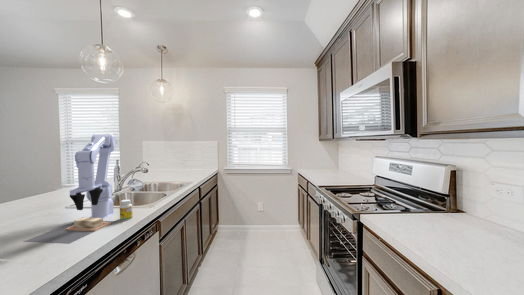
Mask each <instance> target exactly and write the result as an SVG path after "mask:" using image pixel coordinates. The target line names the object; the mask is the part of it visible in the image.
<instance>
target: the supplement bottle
mask: <svg viewBox="0 0 524 295" xmlns="http://www.w3.org/2000/svg"><path fill="white" fill-rule="evenodd" d="M120 203H121V204H120V205H119V220H120V221H129V220H132V219H133V217H134V216H133V213H134V212H133V204H132V203H131V199H122V200H121V201H120Z"/></svg>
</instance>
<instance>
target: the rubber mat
mask: <svg viewBox="0 0 524 295" xmlns="http://www.w3.org/2000/svg"><path fill="white" fill-rule="evenodd" d="M103 222H111V224H110V225H113V224H114V223H116V222H117V221H115V220H103ZM73 225H74V222H71V223H68V224H66V225H65V224H64V225H63V226H60V227H58V228H54V229H52V230H49V231H48V232H44V233H43V234H39V235H37V236H35V237H30V238H29V239H26V240H23V241H22V242H23V243H43V244H44V243H45V244H46V243H47V244H64V245H65V244H66V245H67V244H68V245H69V244H72V243H74V242H76V241H79V240H80V239H82V238H84V237H86V236H89V235H91V234H92V233H95V232H96V231H72V230H66V228H68V227H71V226H73ZM103 225H104V224H103ZM105 227H107V226H105ZM105 227H103V228H105ZM74 228H75V227H74ZM103 228H101V229H100V230H102V229H103Z"/></svg>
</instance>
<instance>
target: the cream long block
mask: <svg viewBox="0 0 524 295" xmlns="http://www.w3.org/2000/svg"><path fill="white" fill-rule="evenodd" d="M103 221H104V218H90V217H87V216H86V217H81V218H77V219H75V220H74V227H75V228H89V229H95V228H98V227H100V226H102V225H103Z"/></svg>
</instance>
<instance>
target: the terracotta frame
mask: <svg viewBox="0 0 524 295" xmlns="http://www.w3.org/2000/svg"><path fill="white" fill-rule="evenodd" d="M103 224H104V225H102V226H100V227H98V228H95V229H89V228H74V225H73V226H71V227H68V228H66V230H72V231H95V232H98V231H100V230H102V229H103V227H104V228H105V226H106V227H107V226H110V225H112V224H111V222H103ZM101 228H102V229H101Z"/></svg>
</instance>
